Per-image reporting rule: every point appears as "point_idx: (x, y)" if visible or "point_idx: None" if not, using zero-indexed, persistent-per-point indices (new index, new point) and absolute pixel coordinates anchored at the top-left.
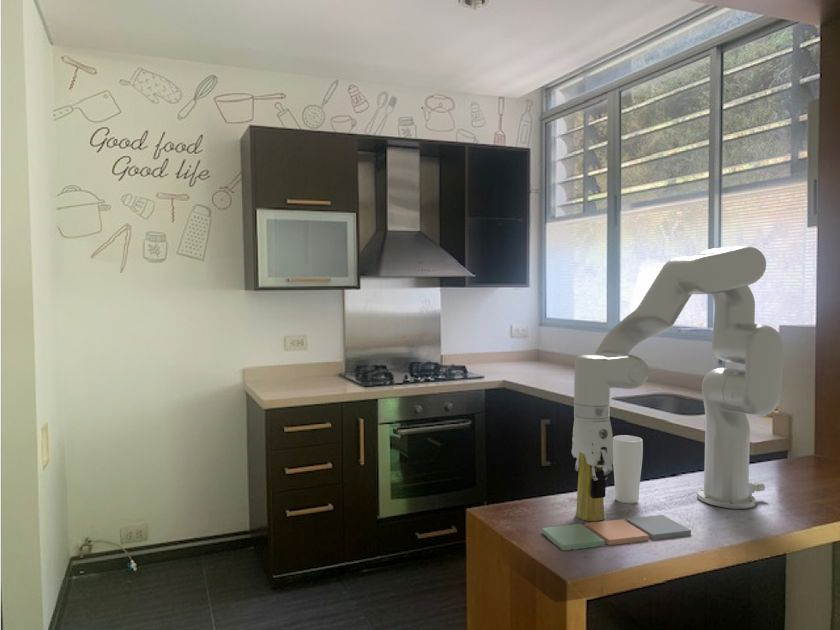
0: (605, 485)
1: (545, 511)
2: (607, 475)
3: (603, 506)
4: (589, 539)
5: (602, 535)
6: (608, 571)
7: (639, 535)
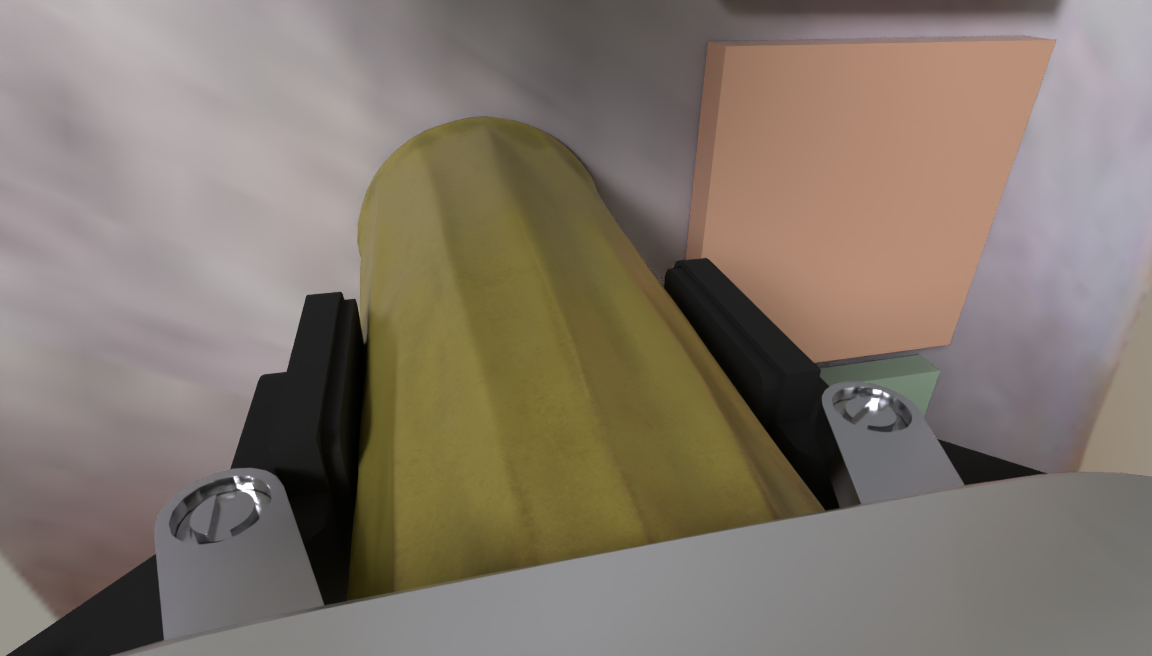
0: (769, 319)
1: None
2: (1022, 474)
3: (586, 185)
4: None
5: (883, 352)
6: (1088, 437)
7: (1016, 115)
